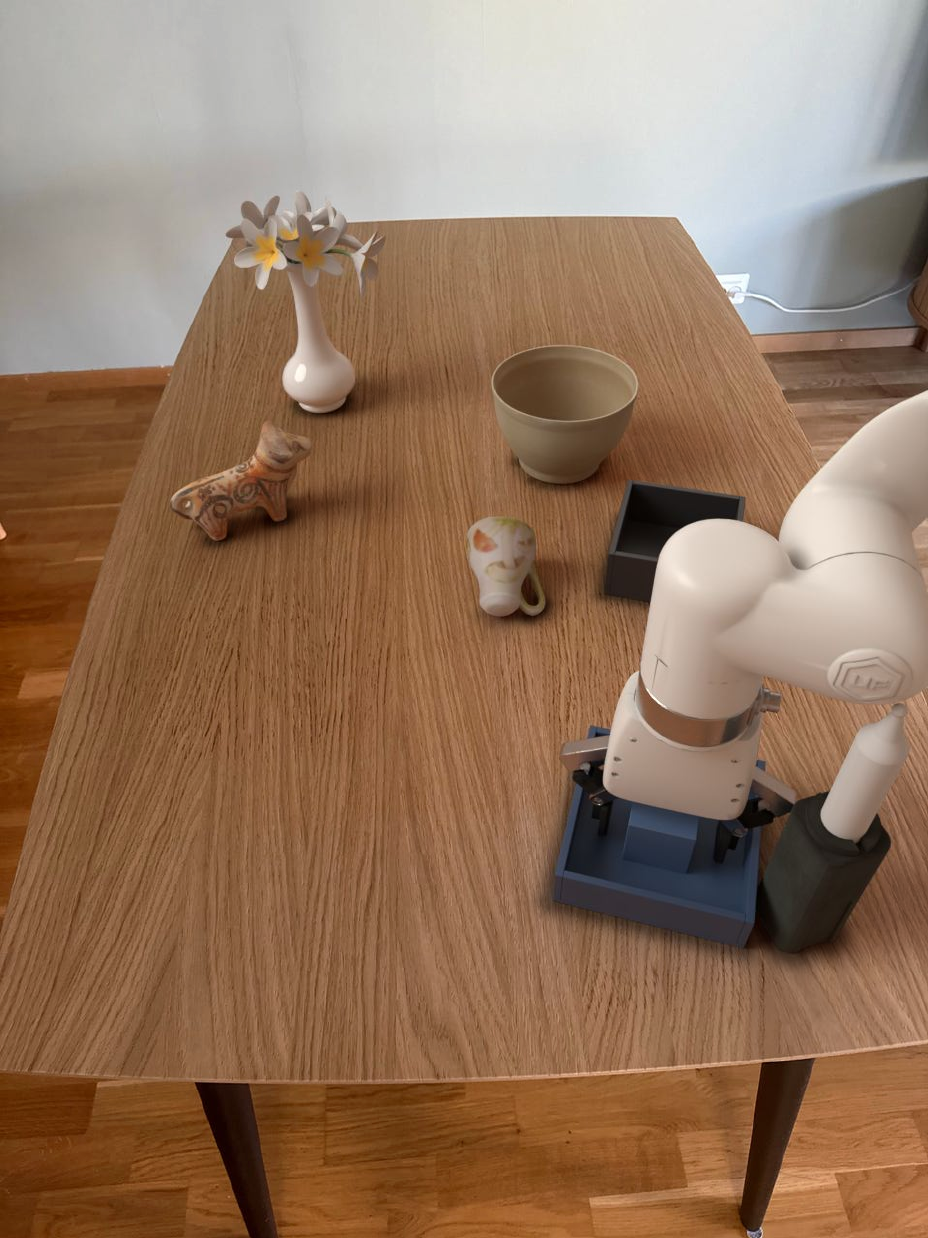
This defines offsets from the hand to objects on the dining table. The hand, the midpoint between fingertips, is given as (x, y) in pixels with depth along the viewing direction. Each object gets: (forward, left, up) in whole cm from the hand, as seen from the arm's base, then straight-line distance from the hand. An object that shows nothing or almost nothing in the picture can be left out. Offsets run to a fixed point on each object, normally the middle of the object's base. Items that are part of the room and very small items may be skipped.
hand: (661, 833), depth 72 cm
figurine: (+49, -29, -2) cm, 57 cm away
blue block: (0, 0, -1) cm, 1 cm away
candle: (-11, +4, -2) cm, 11 cm away
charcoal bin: (+3, -33, -1) cm, 33 cm away
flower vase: (+50, -54, -2) cm, 74 cm away
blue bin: (0, 0, -1) cm, 1 cm away
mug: (+19, -25, -2) cm, 31 cm away
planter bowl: (+18, -48, -2) cm, 51 cm away
